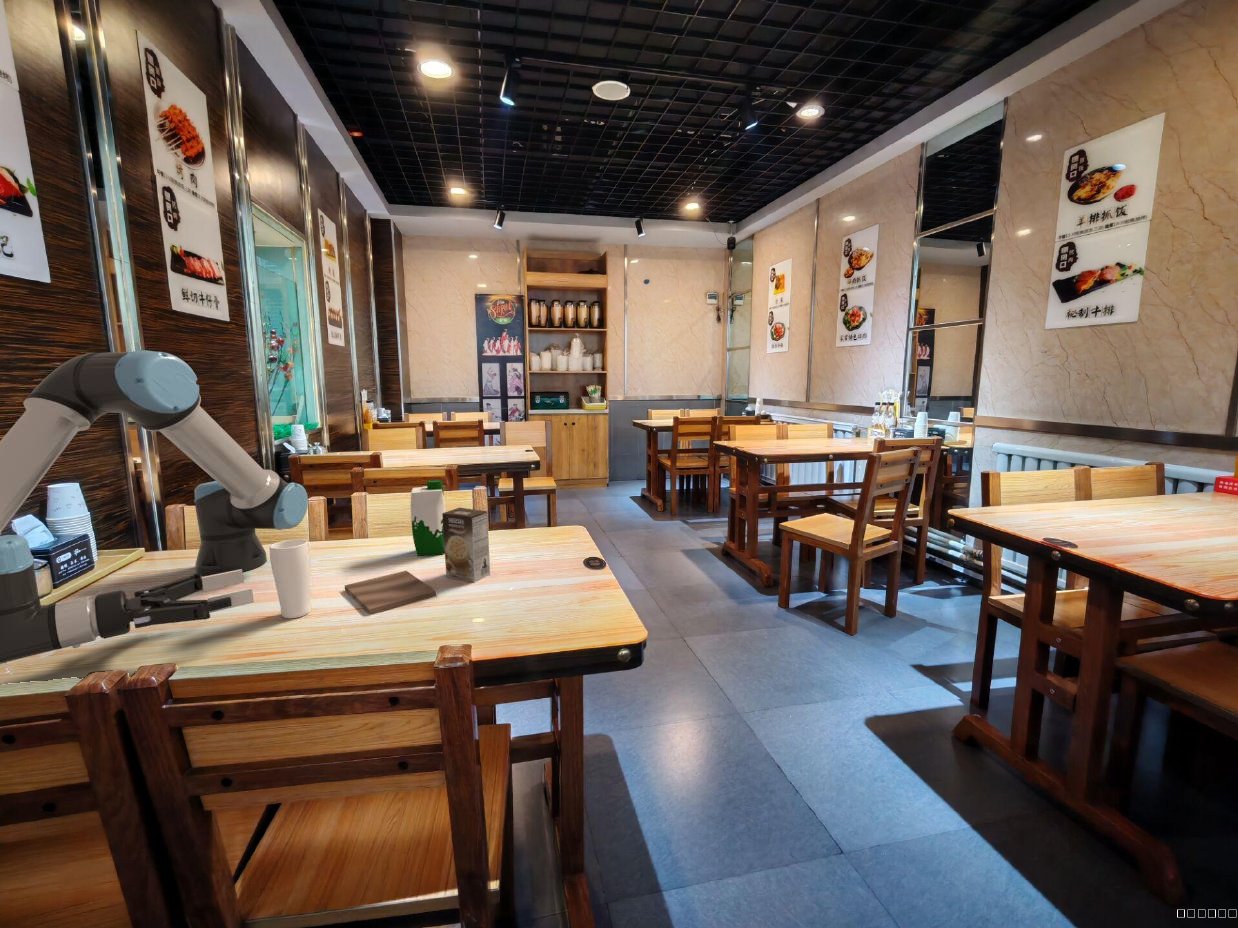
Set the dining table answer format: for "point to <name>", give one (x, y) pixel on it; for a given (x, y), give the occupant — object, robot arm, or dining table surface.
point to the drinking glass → (292, 576)
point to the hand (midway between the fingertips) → (247, 584)
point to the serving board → (389, 591)
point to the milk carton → (428, 518)
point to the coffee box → (466, 544)
